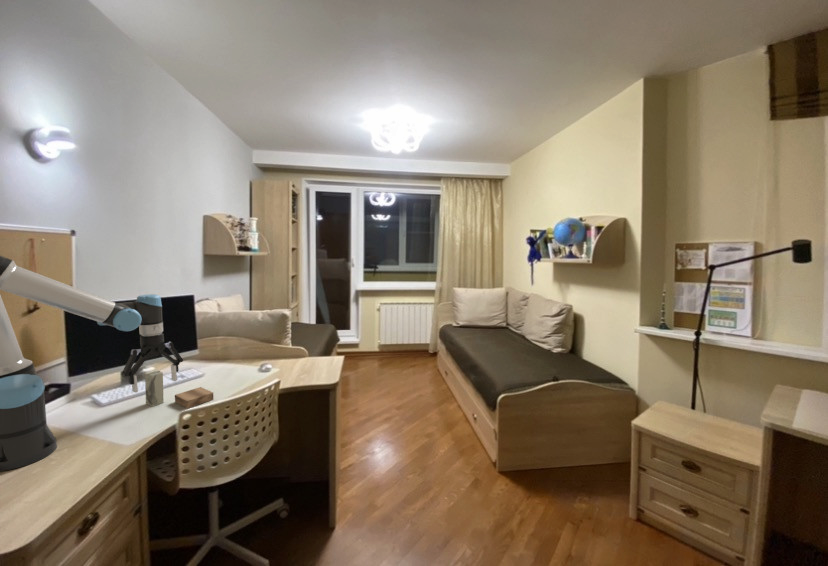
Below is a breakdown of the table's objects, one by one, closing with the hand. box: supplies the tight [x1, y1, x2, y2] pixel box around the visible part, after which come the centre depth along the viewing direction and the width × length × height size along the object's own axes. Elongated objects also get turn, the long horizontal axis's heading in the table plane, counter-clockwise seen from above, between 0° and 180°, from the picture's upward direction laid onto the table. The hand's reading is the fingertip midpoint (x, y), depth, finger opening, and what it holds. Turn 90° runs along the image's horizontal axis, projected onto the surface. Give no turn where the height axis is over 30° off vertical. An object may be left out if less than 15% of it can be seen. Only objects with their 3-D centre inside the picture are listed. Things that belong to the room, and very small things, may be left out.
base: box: [174, 386, 214, 409], centre depth 144 cm, size 10×10×3 cm
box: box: [144, 369, 164, 407], centre depth 140 cm, size 5×4×13 cm
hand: (155, 385), depth 140 cm, fingers open, 13 cm apart
